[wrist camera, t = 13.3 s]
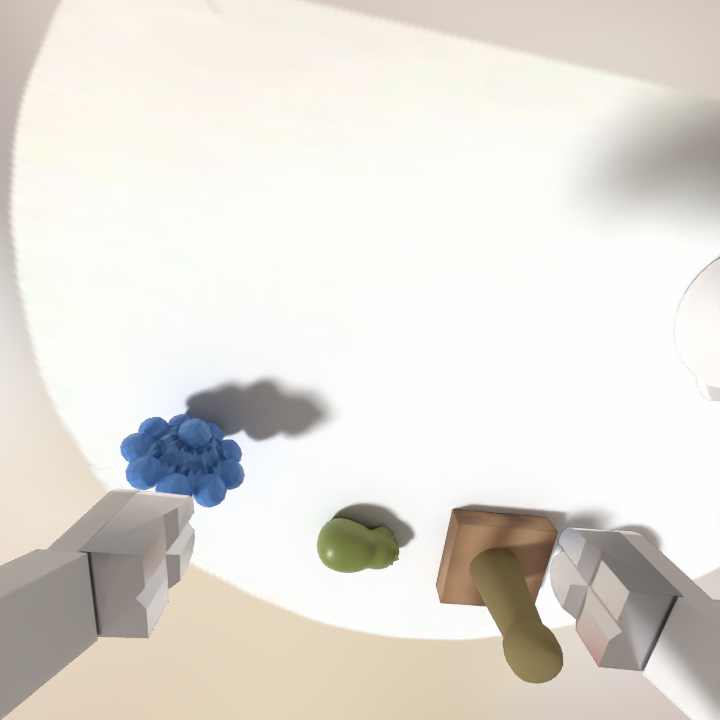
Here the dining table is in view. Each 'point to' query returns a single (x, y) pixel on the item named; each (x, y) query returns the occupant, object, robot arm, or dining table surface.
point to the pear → (356, 546)
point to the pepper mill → (516, 616)
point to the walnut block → (488, 531)
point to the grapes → (183, 459)
